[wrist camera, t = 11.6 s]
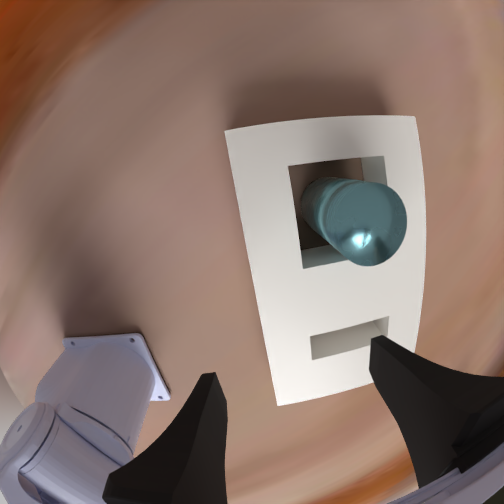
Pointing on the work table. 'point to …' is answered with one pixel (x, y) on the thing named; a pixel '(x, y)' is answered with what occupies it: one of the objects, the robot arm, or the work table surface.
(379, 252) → the teal cylinder
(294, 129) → the bore block
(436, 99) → the work table surface
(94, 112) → the work table surface
